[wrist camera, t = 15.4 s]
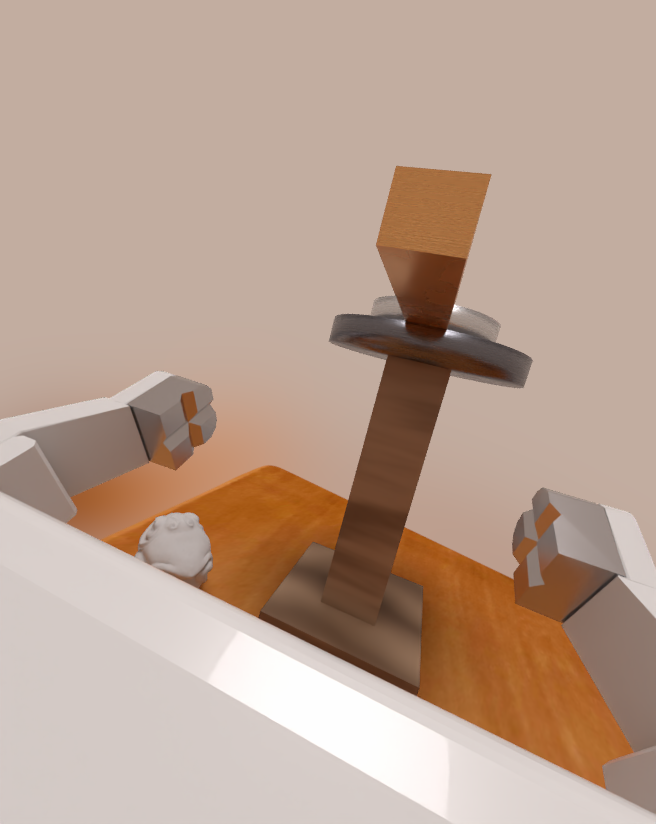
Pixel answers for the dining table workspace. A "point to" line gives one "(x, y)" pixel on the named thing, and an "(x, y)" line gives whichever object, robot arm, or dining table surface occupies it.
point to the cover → (431, 248)
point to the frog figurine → (177, 547)
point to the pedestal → (384, 499)
